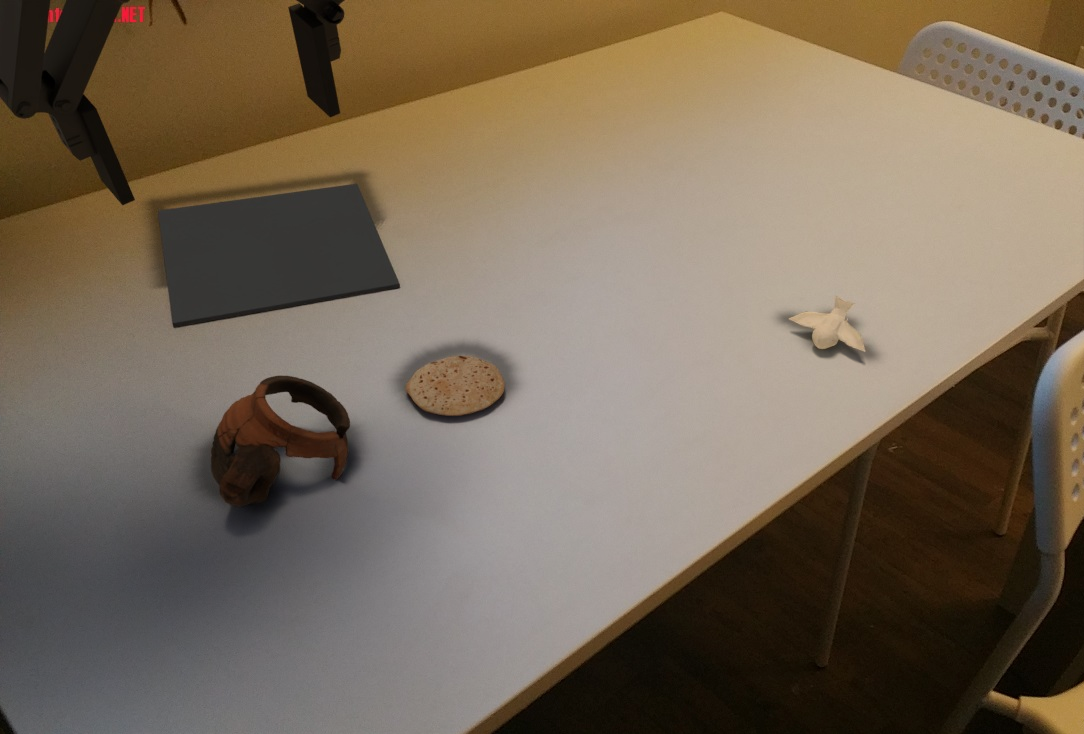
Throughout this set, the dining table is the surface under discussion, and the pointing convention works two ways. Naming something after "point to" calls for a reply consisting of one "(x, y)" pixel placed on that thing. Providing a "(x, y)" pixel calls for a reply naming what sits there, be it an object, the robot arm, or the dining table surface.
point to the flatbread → (456, 386)
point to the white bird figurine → (831, 326)
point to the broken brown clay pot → (273, 439)
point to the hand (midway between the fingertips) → (226, 145)
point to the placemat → (271, 253)
